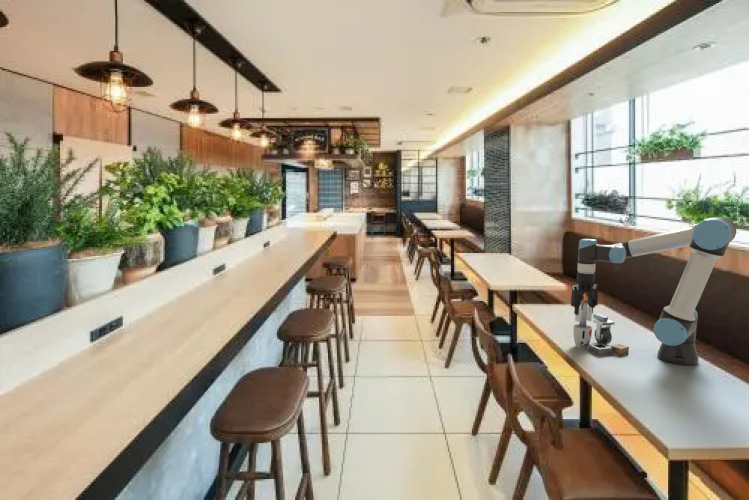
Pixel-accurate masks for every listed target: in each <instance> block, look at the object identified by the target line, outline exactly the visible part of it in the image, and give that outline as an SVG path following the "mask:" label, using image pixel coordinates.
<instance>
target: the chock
mask: <svg viewBox="0 0 749 500" xmlns="http://www.w3.org/2000/svg"><path fill="white" fill-rule="evenodd" d="M610 347H611V348H612V353H613V354H612V355H616V356H619V357H621V356H622V357H623V356H625V355H628V354H629V352H630V351H629V349H630V347H629V346H627V345H624V344H620V343H617V344H616V343H615V344H613V345H610Z"/></svg>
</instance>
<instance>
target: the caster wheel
mask: <svg viewBox="0 0 749 500" xmlns="http://www.w3.org/2000/svg"><path fill="white" fill-rule="evenodd" d="M592 315H593V316H592V319H593V323H595V324H596V328H595V331H594V339H595V341H596V342H597V343H602V344H604V345H609V344H611V342H612V340H613V339H612V338H613V336H612V332H611V326H614V325H615V324H616V323H615V321H613V320H611V319H609V317H608V316H605V315H602V314H600V313H593V314H592ZM604 326H605V327H604Z"/></svg>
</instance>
